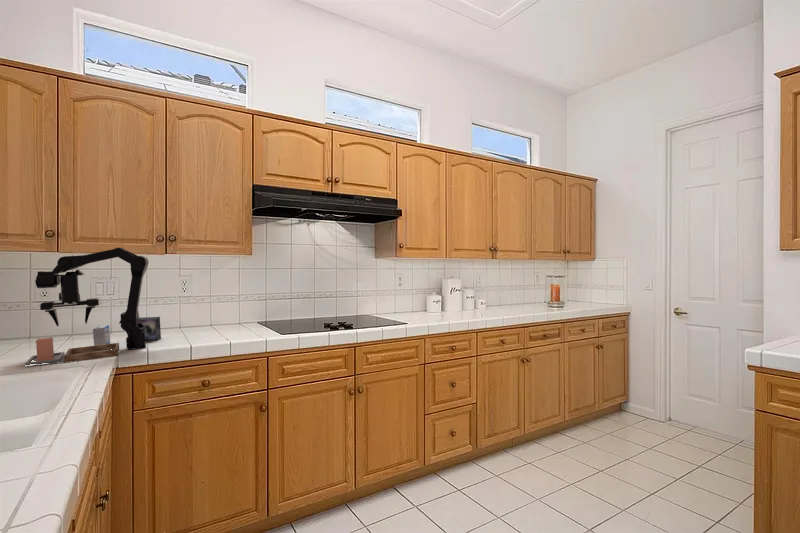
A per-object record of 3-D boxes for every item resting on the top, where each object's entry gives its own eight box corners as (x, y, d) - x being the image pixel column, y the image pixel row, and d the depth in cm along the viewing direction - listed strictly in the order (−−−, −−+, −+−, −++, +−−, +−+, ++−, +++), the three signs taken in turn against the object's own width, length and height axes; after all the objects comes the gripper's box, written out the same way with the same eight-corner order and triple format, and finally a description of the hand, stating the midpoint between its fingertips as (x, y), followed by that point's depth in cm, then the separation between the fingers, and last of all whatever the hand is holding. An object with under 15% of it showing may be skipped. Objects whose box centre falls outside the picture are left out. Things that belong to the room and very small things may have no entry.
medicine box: (105, 347, 188) (104, 327, 187) (93, 348, 186) (92, 328, 185) (110, 343, 195) (109, 324, 194) (98, 344, 193) (97, 325, 193)
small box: (131, 342, 195) (130, 319, 195) (137, 339, 202) (135, 317, 201) (156, 341, 197) (155, 318, 197) (161, 338, 204) (160, 316, 203)
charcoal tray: (64, 355, 174) (64, 351, 174) (59, 362, 162) (59, 358, 162) (32, 359, 169) (32, 355, 169) (25, 367, 157) (24, 363, 157)
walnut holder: (119, 348, 184) (118, 342, 184) (118, 355, 171) (117, 349, 171) (69, 354, 175) (69, 348, 175) (64, 362, 162) (64, 355, 162)
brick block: (54, 357, 168) (52, 337, 168) (52, 359, 165) (50, 339, 164) (39, 359, 166) (38, 338, 166) (37, 361, 162) (36, 340, 162)
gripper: (98, 284, 187) (101, 319, 187) (43, 287, 177) (46, 324, 178) (97, 285, 177) (99, 323, 178) (38, 289, 167) (41, 328, 168)
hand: (72, 324), depth 176 cm, fingers open, 9 cm apart
